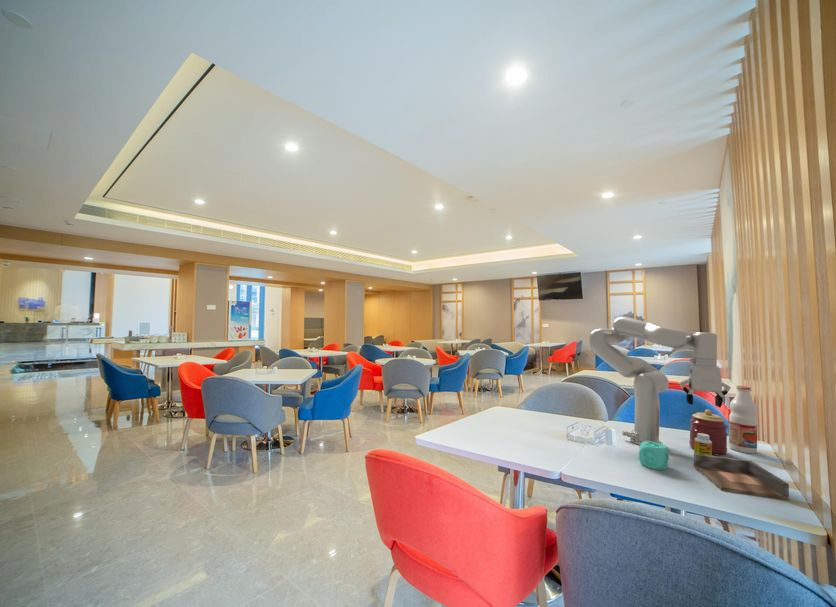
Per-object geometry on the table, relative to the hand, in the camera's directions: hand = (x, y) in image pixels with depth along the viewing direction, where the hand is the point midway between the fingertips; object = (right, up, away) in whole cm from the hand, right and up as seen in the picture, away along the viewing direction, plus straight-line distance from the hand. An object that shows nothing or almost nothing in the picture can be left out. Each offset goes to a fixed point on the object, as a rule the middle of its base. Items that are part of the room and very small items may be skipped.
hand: (704, 405), depth 148 cm
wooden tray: (-5, -21, -20) cm, 30 cm away
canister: (+11, -23, +12) cm, 28 cm away
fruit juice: (+28, -24, +14) cm, 39 cm away
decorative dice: (-26, -21, -9) cm, 35 cm away
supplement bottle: (-1, -22, -1) cm, 22 cm away
